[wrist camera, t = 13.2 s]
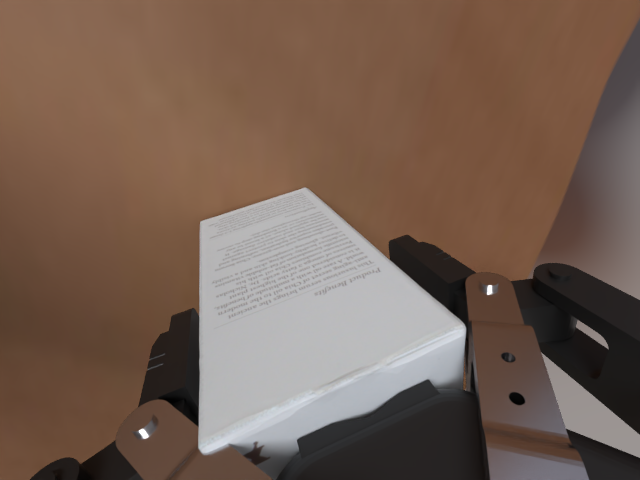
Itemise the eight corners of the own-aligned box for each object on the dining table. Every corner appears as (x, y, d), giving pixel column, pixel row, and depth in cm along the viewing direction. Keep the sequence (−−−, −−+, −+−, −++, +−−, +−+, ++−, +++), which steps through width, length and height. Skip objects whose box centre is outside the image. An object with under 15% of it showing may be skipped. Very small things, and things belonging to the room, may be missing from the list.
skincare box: (227, 285, 18) (259, 545, 7) (198, 219, 16) (186, 452, 5) (325, 249, 19) (468, 432, 9) (309, 183, 17) (473, 320, 7)
